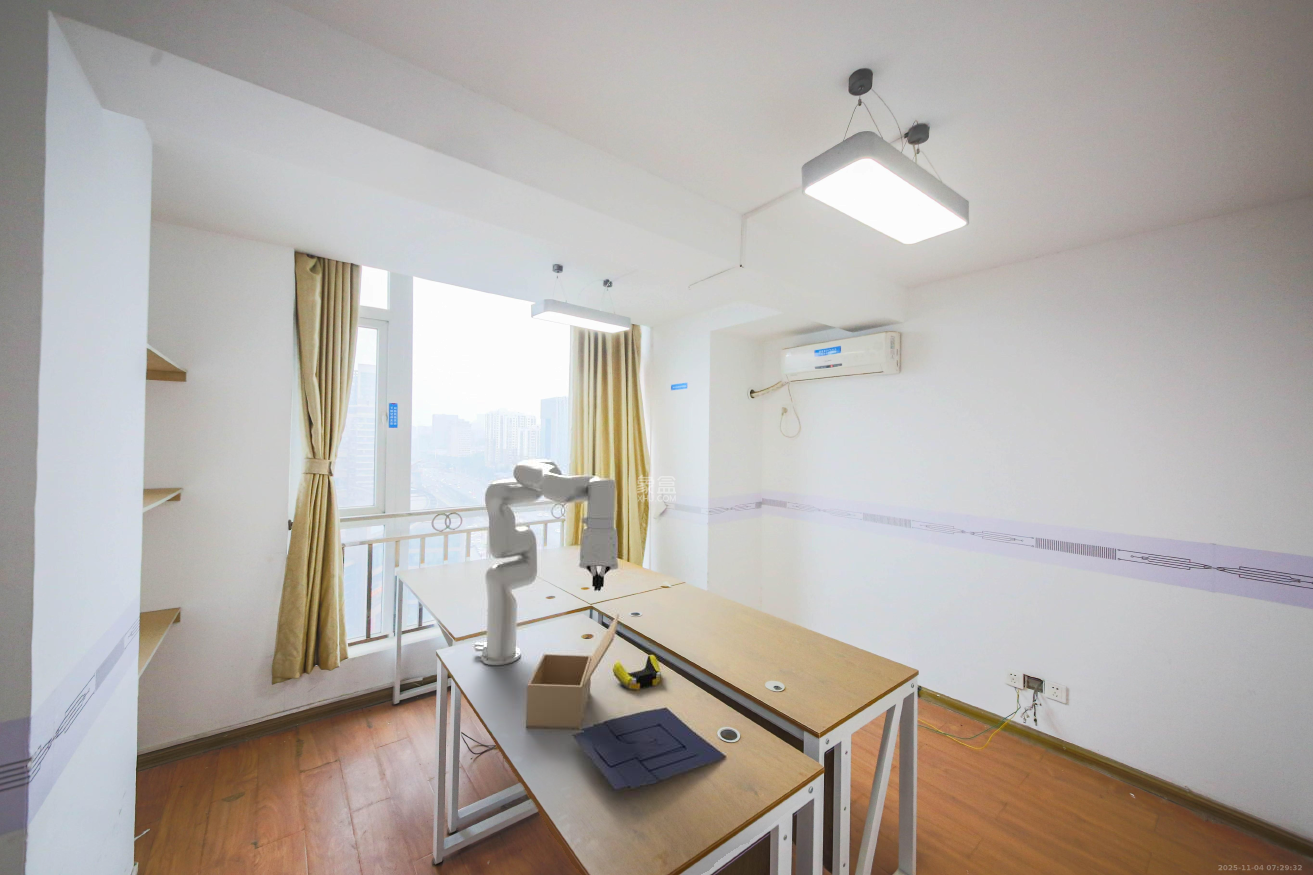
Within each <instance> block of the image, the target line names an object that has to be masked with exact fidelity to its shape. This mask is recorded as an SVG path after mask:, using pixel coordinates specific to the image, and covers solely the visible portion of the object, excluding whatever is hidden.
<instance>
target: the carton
mask: <svg viewBox="0 0 1313 875" xmlns="http://www.w3.org/2000/svg"><path fill="white" fill-rule="evenodd" d="M591 659H592V655H589V654H588V655H584V654H560V653H559V654H556V653H555V654H554V653H553V654H552V653H550V654H549V653H543V654H542V657H541V658H540V660H539V662H538V664H537V666H536V668H535V670H534V671H533V674H532V676H531V677H530V679H529V681H528V684H527V685H526V688H527V689H526V711H525V712H526V713H525V714H526V715H525V719H526V720H525V728H526V729H548V730H549V729H550V730H573V731H574V730H579V731H580V730H582V725H583V722H584V719H585V718H584V717H585V715H586V711H587V707H588V703H589V699H590V696H591V678H592V676H591V677H590V679H589V681H588V682H587V684H586V686H584V682H585V679H586V675H587V672H588V669H589V665H590V662H591Z"/></svg>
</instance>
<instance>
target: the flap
mask: <svg viewBox="0 0 1313 875" xmlns="http://www.w3.org/2000/svg"><path fill="white" fill-rule="evenodd" d="M619 615H620V614H618V613H617V614H616V615H615V618H614V619H613V621H612V622H611V624H610V625H609V627H608V629H607V630H606V632H605V634H604V635H603V637H602V639H601V640H600V642H599V644H598V645H597V647H596V648H595V650H594V652H593V653H592V655H591V662H590V665H589V669H588V672H587V675H586V679H585V682H584V686H586V684H587V682H588V681H589V679H590V677H591V678H592V676H593V673H595V670H596V669H597V667H598V666H599V664H600V663H601V661H602V659H603V658H604V656H605V655H606V653H607V651H608V649H609V647H611V646H612V645H611V644H612V643H613V641H614V640H615V634H616V631H617V627H618V626H617V625H618V622H619V617H620V616H619Z"/></svg>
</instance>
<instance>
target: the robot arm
mask: <svg viewBox="0 0 1313 875" xmlns="http://www.w3.org/2000/svg"><path fill="white" fill-rule="evenodd" d="M512 475H513V478H510V479H501V480H496V481H494V482H492V483H490V484H489V485H488V486H487V488H486V491H485V493H484V502H485V504H484V505H485V507H486V511H487V516H488V534H489V535H488V536H489V537H488V539H489V542H488V543H489V552H490V555H491V557H492V558H494V559H496V560H503V559H507V558H508V559H510V558H514V557H517V559H512V560H508V561H507V560H506V561H502V562H499V563H496V564H493V565H491V566H490V567H489V568H488V569H487V570H486V572H485V576H484V582H485V588H486V594H487V595H486V596H487V608H486V609H487V611H486V612H487V615H486V617H487V619H486V641H485V642H475V643H474V646H473V649H474V651H475V652H481V655H480V661H481V662H482V663H483V664H486V665H489V666H502V665H503V666H504V665H509V664H512V663H514V662H515V661H517V660H518V659H519V658H520V657H521V649H520V648H519V647H517V628H518V626H517V625H518V624H517V622H518V603H517V599H516V597H515V595H514V594H513V593H512V592H513V590H517V589H520V588H523V587H526V586H527V587H528V586H530V585H532V584H533V583H534V582H535V581H536V579H537V577H538V576H537V575H538V552H537V550H538V548H537V546H538V545H537V538H536V535H535V532H534V531H533V530H532V529H531V528H530V527H527V526H520V527H516V515H515V513H514V511H513V509H512V508H511V506H513V505H522V504H524V505H525V504H532V503H534V502H537V501H539V499H541V498H542V497H544V498H545V499H547V500H550V501H553V502H556V503H561V504H574V503H581V502H583V503H584V502H587V508H586V509H587V510H586V517H582V518H581V524H584V525H586V526H585V527H583V529H582V535H581V540H580V542H581V543H580V549H579V564H578V566H579V568H580V569H581V568H582V569H585V570H587V571H588V572H589V573H590V575H591V576H592V582H591V586H592V587H594V592H596V591H598V592H600V591H601V589H602V588H603V587H604V585H605V582H604V581H605V575H606V574H607V573H608V572H609V571H612V570H617V569H618V568H619V563H618V556H619V552H618V550H619V545H618V544H619V543H618V532H617V527H615V509H616V508H615V507H616V506H615V505H616V488H617V487H616V481H615V480H614V479H612V478H607V477H600V476H596V475H594V474H593V475H591V474H582V475H581V474H579V475H577V474H576V475H567V476H566V475H563V474H562V470H561V468H559V467H558V466H557V464H556V463H555V462H554V461H552V460H550V459H528V460H527V459H525V460H522V461H520V462H519V463H517V464H516V465H515V467H514V468H513V472H512ZM597 567H600V571H599V572H598V568H597Z"/></svg>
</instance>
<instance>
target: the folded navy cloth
mask: <svg viewBox="0 0 1313 875" xmlns="http://www.w3.org/2000/svg"><path fill="white" fill-rule="evenodd" d="M581 730H582V731H581V732H578V733H574V734H571V736H572V738H573V739H574V740H575V741H576V742H577V744H578V745H579V746H580V747H581V748H582V750H584V752H585V753H586V754H587V756H589V758H590V759H591V761H593V763H594V764H595V765H596V767H597V769H599V770H600V771H601V773H602V775H604V777H605V778H606V780H607V781H608V782H609V783H610V785H611V786H612V787H613V788H614V789H615V790H618V789H621V788H625V787H628V786H629V787H631V788H632V789H634V788H635V789H636V788H638V787H641V786H643V785H652V784H655V783H657V782H660V781H662V780H665V779H667V778H671V777H673V776H676V775H678V774H681V773H685V772H687V771H690V770H692V769H695V768H698V767H701V766H703V765H708V764H711V763H714V762H717V761H719V760H721V759H723V758H725V757H727V755H725V754H724V753H722V751H720V750H718V749H717V747H715V746H713V745H712V744H711V743H710V742H708V741H707V740H706V739H704V738H703V737H702V736H700V734H698V733H696V731H694V730H692V728H690V726H688V725H687V724H685V722H684V721H682V720H681V719H680V718H679V717H678V716H677V715H676V714H675V713H673V712H672V711H671V710H670V709H669V708H667V707H662V708H655V709H651V710H645V711H644V710H643V711H640V712H635V713H632V714H627V715H624V716H620V717H616V718H612V719H607V720H604V721H602V722H597V723H595V724H592V725H591V726H586V727H584V728H581Z"/></svg>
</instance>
